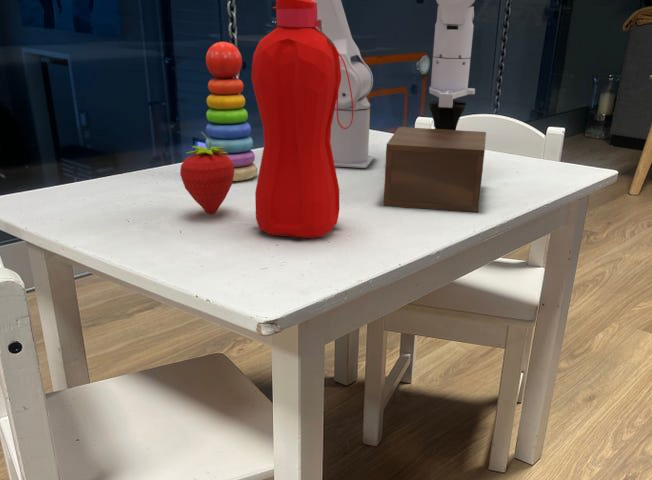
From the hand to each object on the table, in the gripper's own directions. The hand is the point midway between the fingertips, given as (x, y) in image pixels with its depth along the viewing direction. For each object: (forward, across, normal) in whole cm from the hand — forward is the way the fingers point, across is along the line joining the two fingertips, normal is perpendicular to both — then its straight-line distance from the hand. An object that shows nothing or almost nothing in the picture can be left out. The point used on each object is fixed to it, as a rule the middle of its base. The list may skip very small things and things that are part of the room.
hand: (444, 148), depth 116 cm
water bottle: (+4, -37, +14) cm, 40 cm away
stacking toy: (+4, -14, +31) cm, 34 cm away
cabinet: (+3, -17, 0) cm, 18 cm away
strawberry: (+4, -34, +27) cm, 44 cm away
